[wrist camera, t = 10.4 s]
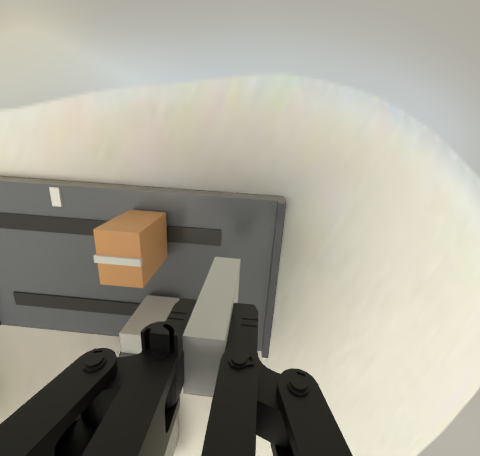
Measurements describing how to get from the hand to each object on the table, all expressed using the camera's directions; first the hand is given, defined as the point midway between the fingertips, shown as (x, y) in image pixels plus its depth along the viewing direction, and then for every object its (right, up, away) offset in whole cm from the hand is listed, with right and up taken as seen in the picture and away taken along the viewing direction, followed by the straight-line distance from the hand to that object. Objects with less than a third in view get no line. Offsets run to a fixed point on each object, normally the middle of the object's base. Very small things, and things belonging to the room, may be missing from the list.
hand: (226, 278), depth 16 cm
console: (-10, 0, +10) cm, 14 cm away
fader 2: (-6, -5, +9) cm, 12 cm away
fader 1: (-7, +3, +6) cm, 10 cm away
